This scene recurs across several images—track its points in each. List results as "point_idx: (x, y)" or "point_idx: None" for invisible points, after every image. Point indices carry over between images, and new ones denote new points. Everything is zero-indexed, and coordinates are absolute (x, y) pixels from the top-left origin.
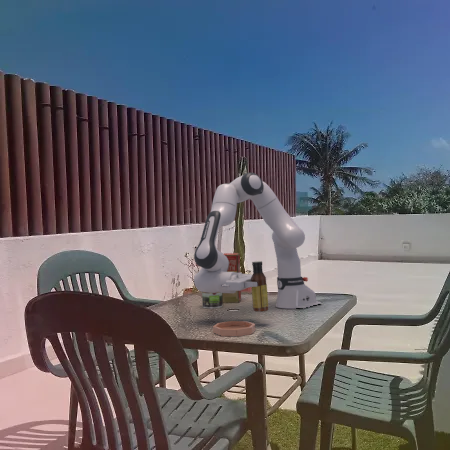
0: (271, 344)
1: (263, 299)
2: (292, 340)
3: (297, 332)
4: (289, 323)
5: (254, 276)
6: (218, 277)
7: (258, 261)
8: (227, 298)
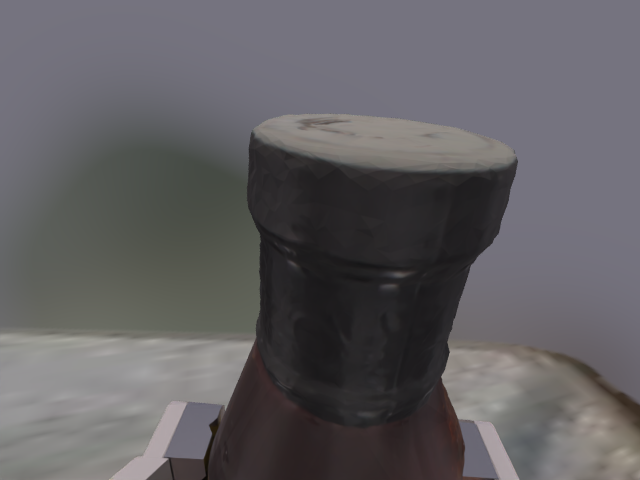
0: (627, 426)
1: None
2: (516, 377)
3: None
4: None
5: (449, 417)
6: None
7: (348, 123)
8: None
